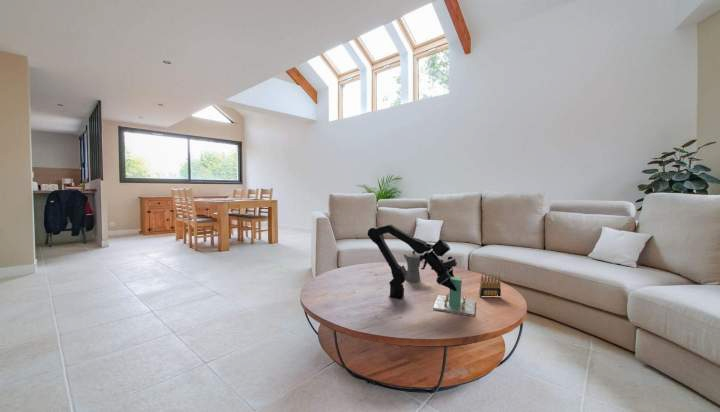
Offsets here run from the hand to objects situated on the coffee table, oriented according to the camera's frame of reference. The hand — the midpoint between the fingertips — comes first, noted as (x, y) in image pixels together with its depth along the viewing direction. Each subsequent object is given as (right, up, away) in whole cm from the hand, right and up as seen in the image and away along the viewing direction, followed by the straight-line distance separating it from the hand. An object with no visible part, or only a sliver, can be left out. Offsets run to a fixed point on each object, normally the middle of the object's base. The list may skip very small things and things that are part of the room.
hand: (457, 287), depth 144 cm
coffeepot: (-13, -6, +39) cm, 42 cm away
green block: (-1, -8, +1) cm, 8 cm away
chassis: (-1, -9, +1) cm, 9 cm away
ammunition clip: (+22, -9, +13) cm, 27 cm away
